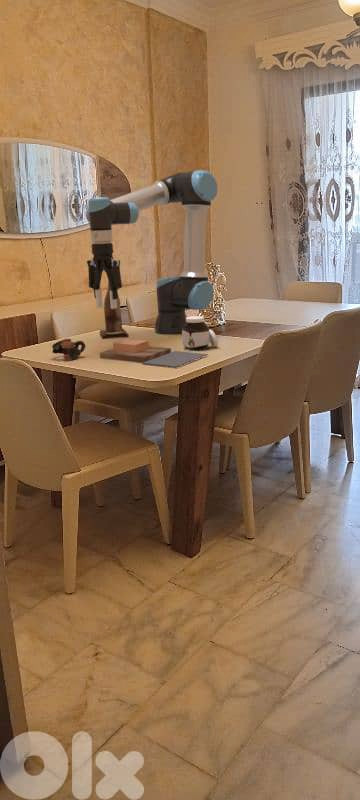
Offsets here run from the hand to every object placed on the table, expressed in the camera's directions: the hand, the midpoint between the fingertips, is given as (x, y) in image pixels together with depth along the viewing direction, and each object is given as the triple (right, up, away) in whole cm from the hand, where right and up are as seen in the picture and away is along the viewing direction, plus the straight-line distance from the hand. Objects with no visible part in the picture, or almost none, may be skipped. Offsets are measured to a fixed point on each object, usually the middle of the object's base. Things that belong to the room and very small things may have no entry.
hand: (106, 307), depth 232 cm
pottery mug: (-13, -19, 0) cm, 23 cm away
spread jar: (+35, -14, +7) cm, 38 cm away
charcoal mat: (+25, -20, -11) cm, 34 cm away
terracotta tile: (+9, -16, -1) cm, 18 cm away
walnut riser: (+11, -18, -2) cm, 21 cm away
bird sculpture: (-1, -7, +38) cm, 39 cm away
